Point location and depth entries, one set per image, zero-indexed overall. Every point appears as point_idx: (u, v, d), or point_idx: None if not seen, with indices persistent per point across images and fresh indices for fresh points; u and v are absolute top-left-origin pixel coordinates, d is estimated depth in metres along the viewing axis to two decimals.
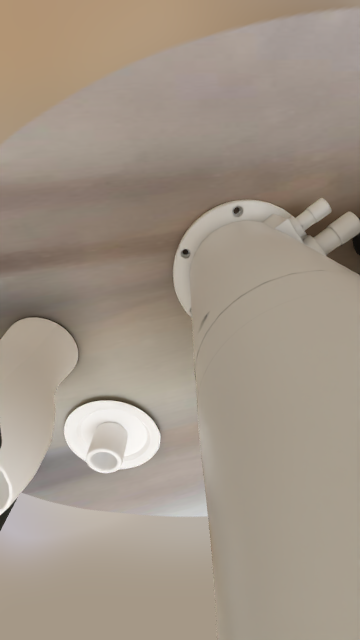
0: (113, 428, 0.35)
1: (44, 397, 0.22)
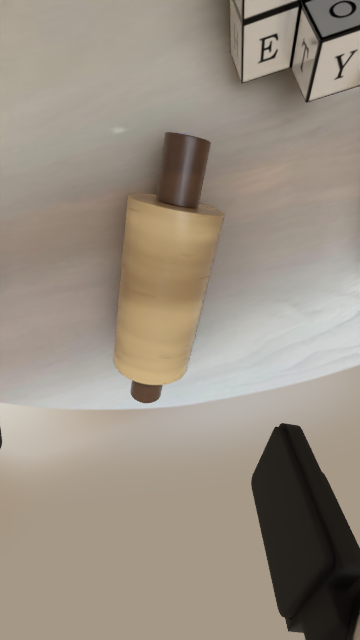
0: None
1: None
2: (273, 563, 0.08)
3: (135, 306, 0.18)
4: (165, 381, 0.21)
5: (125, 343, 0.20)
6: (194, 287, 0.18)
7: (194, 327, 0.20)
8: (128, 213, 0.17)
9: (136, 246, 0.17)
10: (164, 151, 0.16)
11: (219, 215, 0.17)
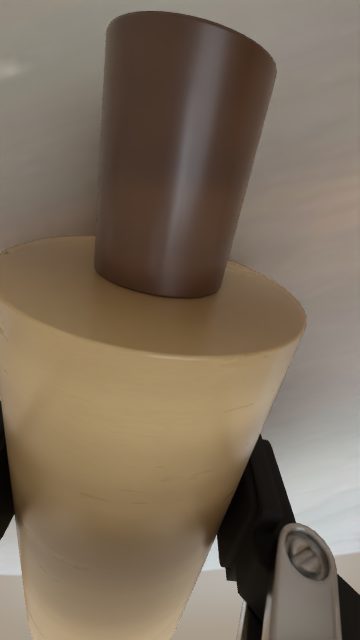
0: None
1: None
2: None
3: (36, 563, 0.06)
4: None
5: (31, 607, 0.08)
6: (206, 525, 0.06)
7: (203, 563, 0.08)
8: None
9: (12, 431, 0.05)
10: (104, 104, 0.04)
11: (299, 330, 0.05)
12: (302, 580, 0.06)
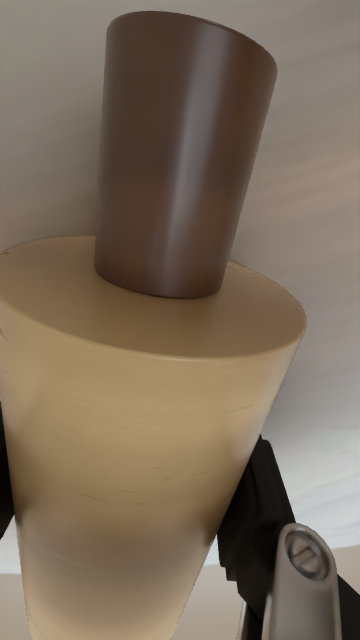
0: None
1: None
2: None
3: (36, 563, 0.06)
4: None
5: (31, 606, 0.08)
6: (206, 526, 0.06)
7: (203, 563, 0.08)
8: None
9: (12, 431, 0.05)
10: (104, 104, 0.04)
11: (299, 330, 0.05)
12: (302, 581, 0.06)
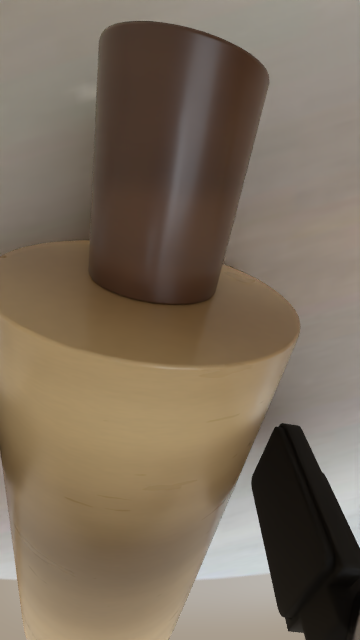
0: None
1: None
2: (273, 563, 0.08)
3: (26, 563, 0.06)
4: None
5: (23, 606, 0.08)
6: (194, 536, 0.06)
7: (196, 573, 0.08)
8: None
9: (2, 432, 0.05)
10: (96, 113, 0.04)
11: (290, 340, 0.05)
12: None
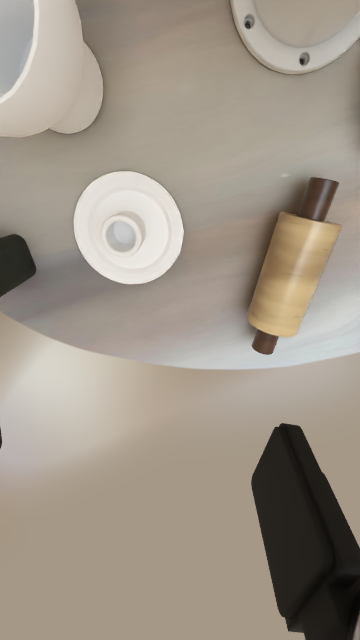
0: (132, 213, 0.30)
1: None
2: (273, 563, 0.08)
3: (285, 283, 0.29)
4: (292, 334, 0.32)
5: (271, 309, 0.30)
6: (322, 270, 0.29)
7: None
8: (287, 225, 0.27)
9: (294, 245, 0.27)
10: (312, 188, 0.27)
11: (341, 225, 0.28)
12: None
